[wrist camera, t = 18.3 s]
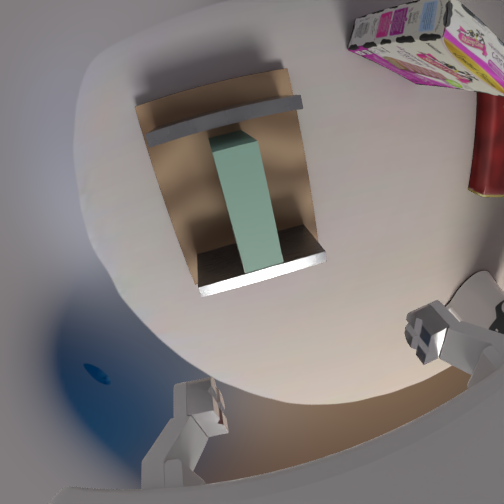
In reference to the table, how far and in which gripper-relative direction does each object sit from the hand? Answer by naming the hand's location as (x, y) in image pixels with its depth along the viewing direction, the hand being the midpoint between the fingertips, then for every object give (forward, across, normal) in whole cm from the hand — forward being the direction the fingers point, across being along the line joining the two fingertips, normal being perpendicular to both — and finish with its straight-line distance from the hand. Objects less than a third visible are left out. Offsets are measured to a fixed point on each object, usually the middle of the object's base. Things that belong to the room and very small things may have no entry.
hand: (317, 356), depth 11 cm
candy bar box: (+26, -22, -12) cm, 37 cm away
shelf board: (+26, 0, 0) cm, 26 cm away
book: (+25, 0, 0) cm, 25 cm away
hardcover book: (+27, -44, 0) cm, 52 cm away
